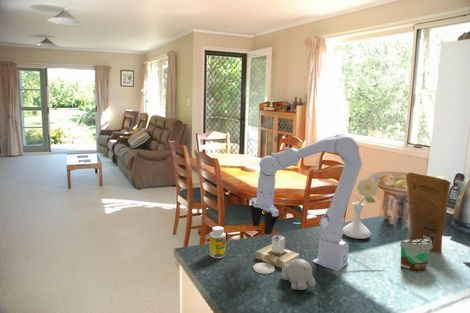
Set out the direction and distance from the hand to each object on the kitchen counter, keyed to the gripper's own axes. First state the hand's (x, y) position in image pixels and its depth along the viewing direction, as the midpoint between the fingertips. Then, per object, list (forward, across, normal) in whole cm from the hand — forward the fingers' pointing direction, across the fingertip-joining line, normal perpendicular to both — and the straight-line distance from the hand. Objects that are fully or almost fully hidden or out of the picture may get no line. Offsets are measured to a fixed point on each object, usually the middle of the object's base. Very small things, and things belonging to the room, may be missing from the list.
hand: (261, 229), depth 126 cm
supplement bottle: (+12, -8, -12) cm, 19 cm away
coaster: (+11, +7, -2) cm, 13 cm away
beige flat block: (+10, +3, +6) cm, 12 cm away
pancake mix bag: (+7, +16, +66) cm, 68 cm away
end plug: (+10, +3, +6) cm, 12 cm away
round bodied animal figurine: (+10, +20, +1) cm, 23 cm away
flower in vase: (+8, -1, +48) cm, 49 cm away
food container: (+8, +29, +45) cm, 54 cm away
